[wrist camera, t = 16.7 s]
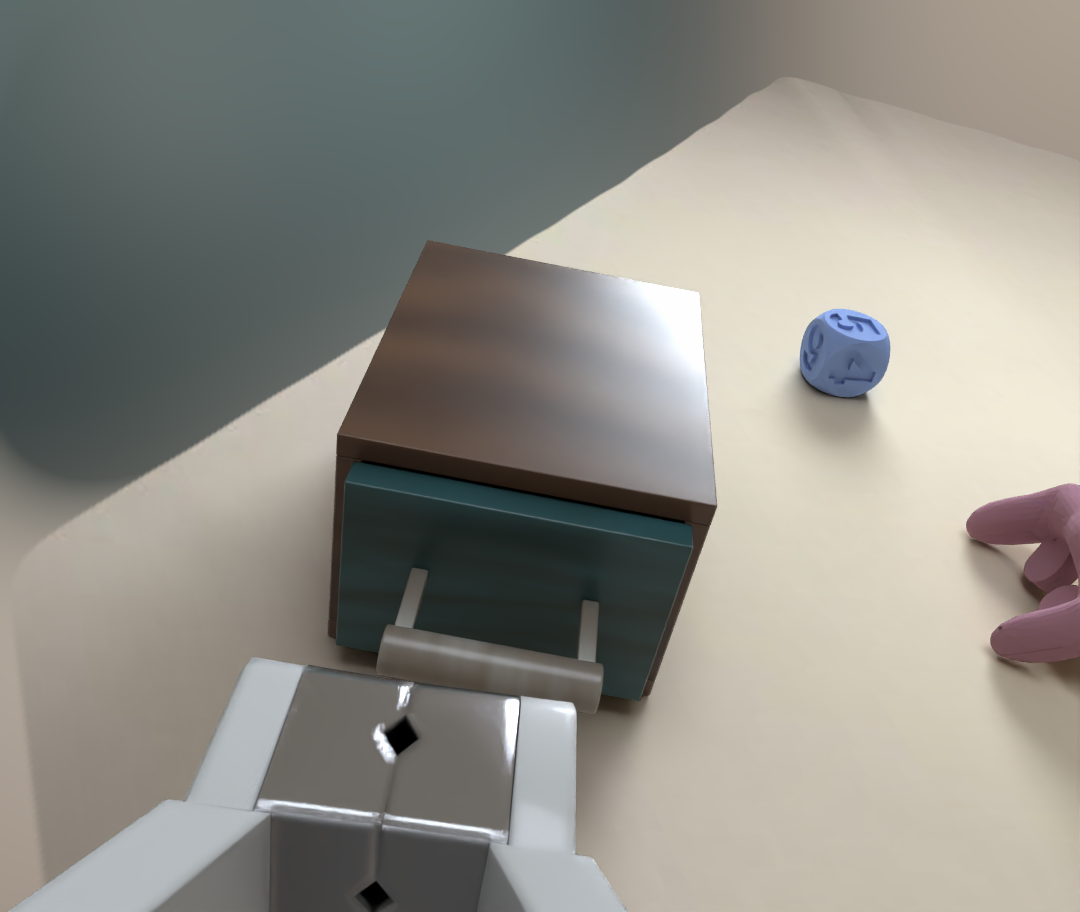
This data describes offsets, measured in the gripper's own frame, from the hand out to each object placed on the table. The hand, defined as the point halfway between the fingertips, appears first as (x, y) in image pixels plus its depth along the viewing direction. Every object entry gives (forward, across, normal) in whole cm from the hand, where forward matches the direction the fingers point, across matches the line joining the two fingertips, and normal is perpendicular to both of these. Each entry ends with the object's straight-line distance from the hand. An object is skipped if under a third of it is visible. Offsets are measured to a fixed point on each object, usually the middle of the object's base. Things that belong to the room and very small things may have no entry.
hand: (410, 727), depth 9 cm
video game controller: (+31, -27, +19) cm, 45 cm away
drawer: (+26, -1, +18) cm, 31 cm away
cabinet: (+30, -2, +19) cm, 35 cm away
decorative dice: (+49, -20, +17) cm, 56 cm away
